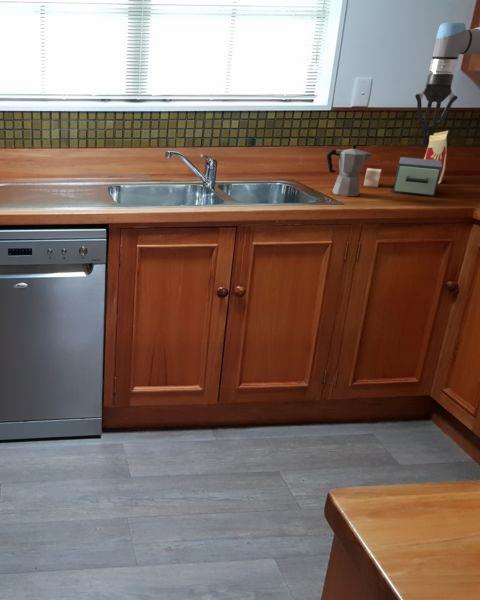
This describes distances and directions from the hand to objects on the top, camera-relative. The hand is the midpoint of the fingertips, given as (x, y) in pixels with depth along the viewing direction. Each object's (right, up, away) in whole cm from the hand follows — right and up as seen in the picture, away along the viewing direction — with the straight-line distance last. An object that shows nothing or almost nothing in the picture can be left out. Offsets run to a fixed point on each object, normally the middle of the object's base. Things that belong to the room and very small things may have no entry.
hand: (424, 144), depth 213 cm
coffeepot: (-25, -16, +10) cm, 31 cm away
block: (-7, -10, +24) cm, 27 cm away
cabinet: (+5, -13, +16) cm, 21 cm away
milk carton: (+21, -6, +34) cm, 41 cm away
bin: (+3, -14, +12) cm, 18 cm away
